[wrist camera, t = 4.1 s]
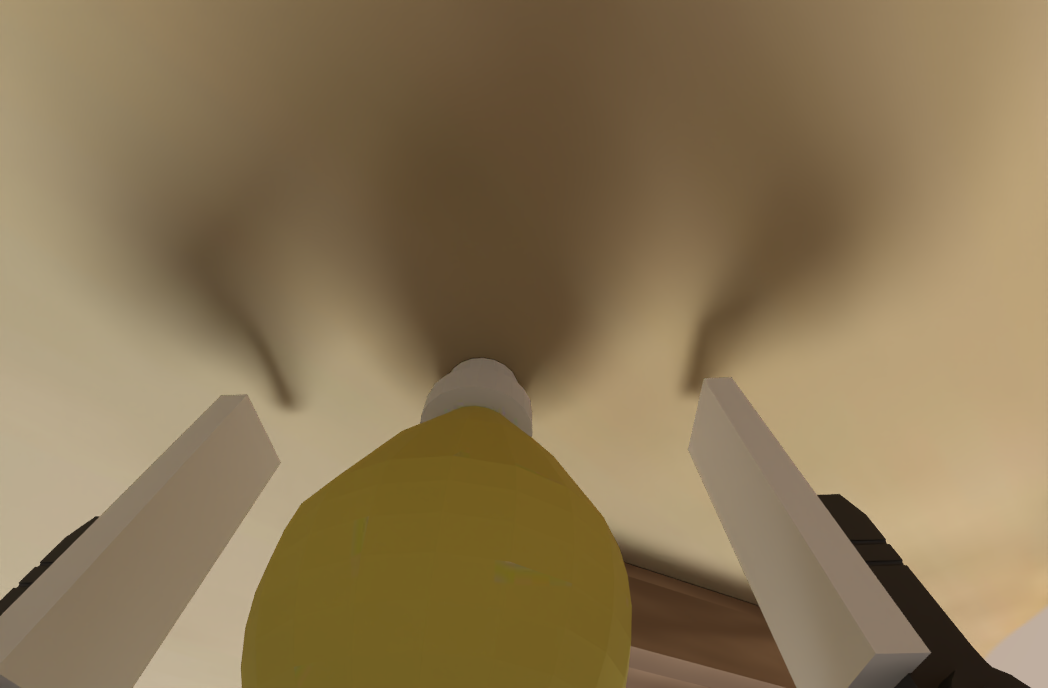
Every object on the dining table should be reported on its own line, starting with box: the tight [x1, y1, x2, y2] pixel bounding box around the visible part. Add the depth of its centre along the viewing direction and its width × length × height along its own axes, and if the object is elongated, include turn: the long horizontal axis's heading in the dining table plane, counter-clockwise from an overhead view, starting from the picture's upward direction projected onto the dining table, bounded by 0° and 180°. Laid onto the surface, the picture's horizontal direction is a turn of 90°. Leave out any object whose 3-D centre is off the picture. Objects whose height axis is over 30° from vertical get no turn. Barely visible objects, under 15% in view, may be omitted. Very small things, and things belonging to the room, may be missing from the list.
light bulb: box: [241, 358, 632, 688], centre depth 9 cm, size 7×7×10 cm
